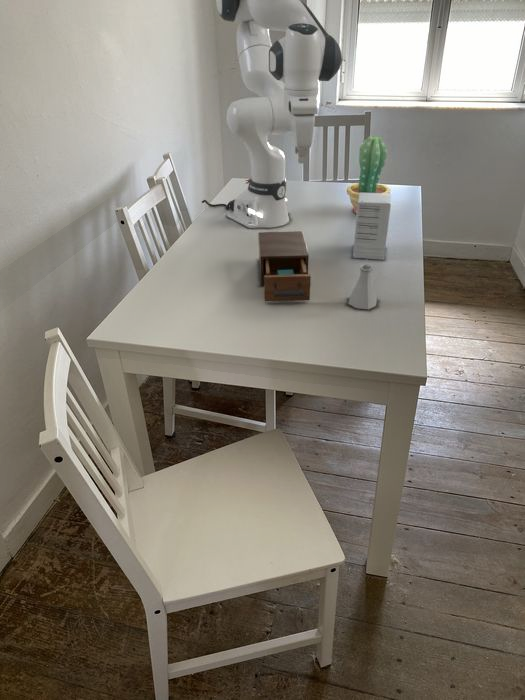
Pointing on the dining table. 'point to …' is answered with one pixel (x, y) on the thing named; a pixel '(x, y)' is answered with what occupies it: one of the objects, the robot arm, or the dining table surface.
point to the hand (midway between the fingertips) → (299, 158)
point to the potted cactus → (369, 170)
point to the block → (284, 272)
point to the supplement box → (371, 225)
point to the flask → (363, 290)
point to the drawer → (286, 280)
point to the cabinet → (281, 248)
